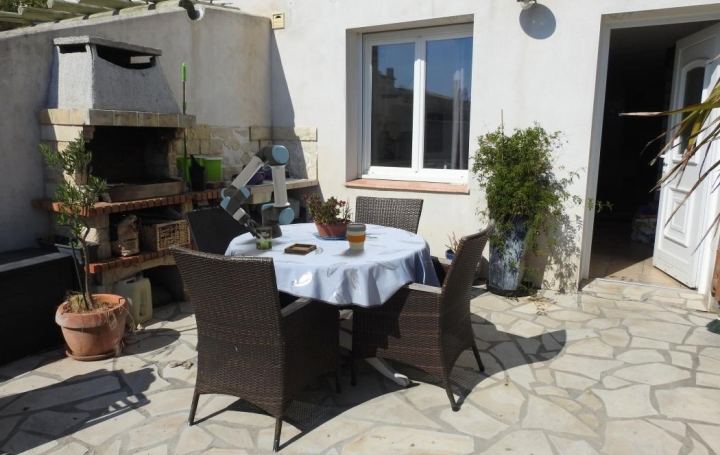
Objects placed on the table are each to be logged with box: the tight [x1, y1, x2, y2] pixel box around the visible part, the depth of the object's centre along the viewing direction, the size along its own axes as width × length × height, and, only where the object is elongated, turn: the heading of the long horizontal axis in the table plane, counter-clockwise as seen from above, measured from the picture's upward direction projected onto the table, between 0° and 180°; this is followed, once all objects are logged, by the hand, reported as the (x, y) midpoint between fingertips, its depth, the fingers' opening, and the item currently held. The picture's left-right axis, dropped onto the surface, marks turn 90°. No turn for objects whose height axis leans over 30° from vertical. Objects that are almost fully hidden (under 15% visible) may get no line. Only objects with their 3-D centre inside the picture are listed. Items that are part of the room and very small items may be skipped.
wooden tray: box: [283, 242, 318, 255], centre depth 334 cm, size 15×15×2 cm
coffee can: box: [254, 225, 273, 252], centre depth 337 cm, size 10×10×14 cm
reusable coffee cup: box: [346, 222, 367, 251], centre depth 336 cm, size 12×13×15 cm
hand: (266, 239), depth 337 cm, fingers open, 13 cm apart
